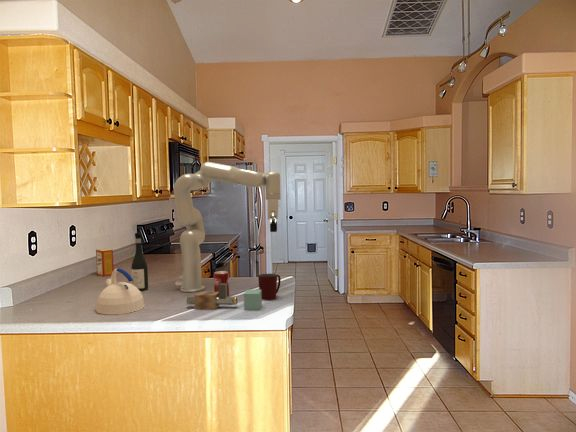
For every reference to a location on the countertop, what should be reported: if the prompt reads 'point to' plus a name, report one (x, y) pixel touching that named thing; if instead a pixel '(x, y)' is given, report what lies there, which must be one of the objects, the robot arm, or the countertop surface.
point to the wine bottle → (139, 267)
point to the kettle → (119, 296)
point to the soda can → (221, 280)
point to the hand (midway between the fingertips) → (273, 230)
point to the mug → (268, 286)
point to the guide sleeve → (206, 300)
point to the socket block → (252, 300)
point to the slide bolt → (221, 299)
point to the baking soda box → (104, 262)
